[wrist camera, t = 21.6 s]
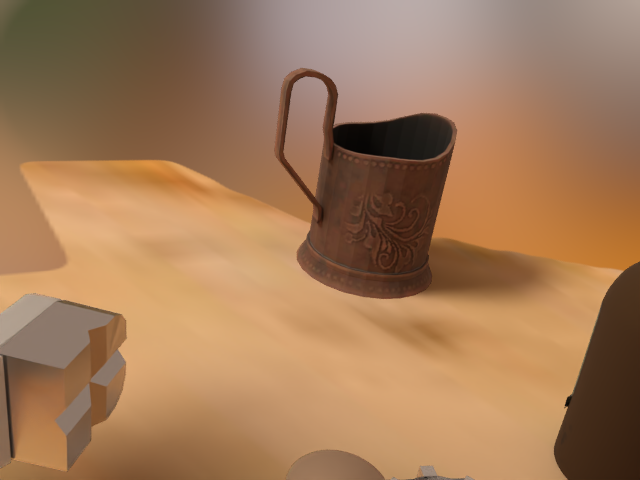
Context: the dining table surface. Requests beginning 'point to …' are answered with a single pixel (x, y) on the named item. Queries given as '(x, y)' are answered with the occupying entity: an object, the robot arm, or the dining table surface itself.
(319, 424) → the dining table surface
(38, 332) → the robot arm
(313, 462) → the gear
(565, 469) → the olive oil
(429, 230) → the cup holder
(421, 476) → the carrier plate
